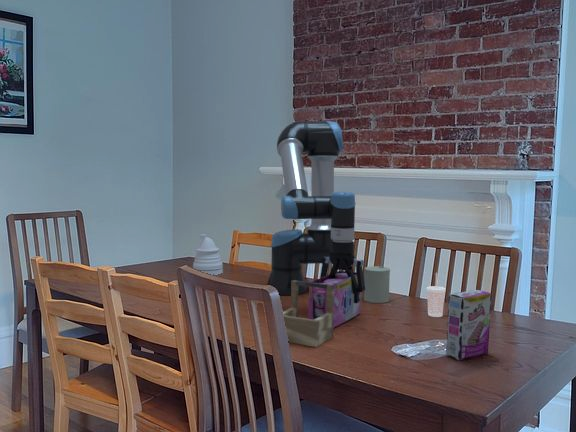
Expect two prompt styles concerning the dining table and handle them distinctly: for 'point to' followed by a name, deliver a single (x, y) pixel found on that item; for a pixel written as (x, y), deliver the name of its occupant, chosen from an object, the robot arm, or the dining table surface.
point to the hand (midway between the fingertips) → (341, 310)
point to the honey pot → (208, 257)
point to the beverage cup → (435, 300)
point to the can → (376, 284)
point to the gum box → (340, 298)
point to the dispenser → (305, 328)
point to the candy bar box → (468, 324)
